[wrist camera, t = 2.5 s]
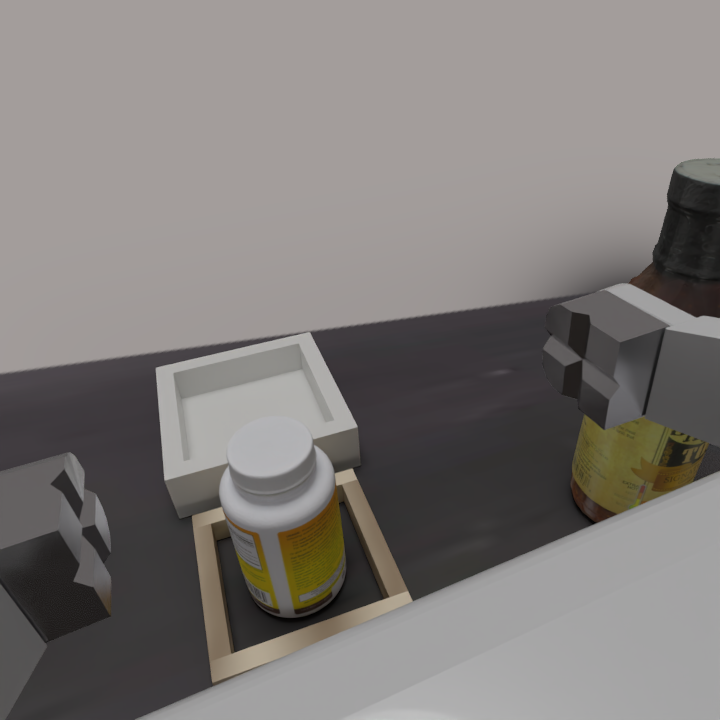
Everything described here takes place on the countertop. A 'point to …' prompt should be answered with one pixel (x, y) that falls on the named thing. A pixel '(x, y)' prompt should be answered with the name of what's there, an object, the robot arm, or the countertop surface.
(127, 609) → the countertop surface
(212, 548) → the wooden frame
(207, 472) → the tray
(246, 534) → the supplement bottle
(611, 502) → the sauce bottle
